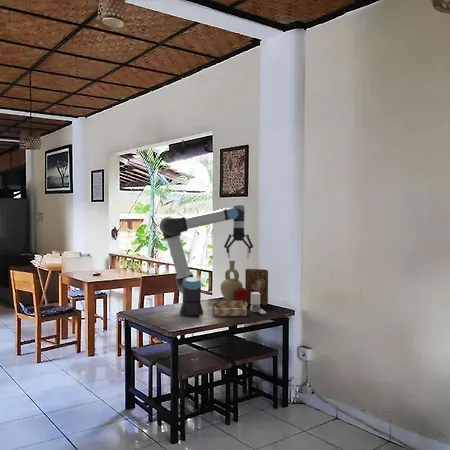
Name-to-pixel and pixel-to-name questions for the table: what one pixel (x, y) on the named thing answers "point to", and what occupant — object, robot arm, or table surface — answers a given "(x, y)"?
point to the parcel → (255, 302)
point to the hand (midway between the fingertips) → (238, 258)
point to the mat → (262, 311)
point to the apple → (241, 294)
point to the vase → (230, 283)
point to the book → (257, 284)
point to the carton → (230, 308)
